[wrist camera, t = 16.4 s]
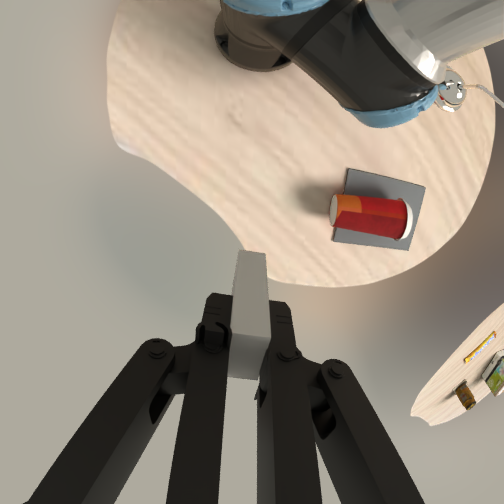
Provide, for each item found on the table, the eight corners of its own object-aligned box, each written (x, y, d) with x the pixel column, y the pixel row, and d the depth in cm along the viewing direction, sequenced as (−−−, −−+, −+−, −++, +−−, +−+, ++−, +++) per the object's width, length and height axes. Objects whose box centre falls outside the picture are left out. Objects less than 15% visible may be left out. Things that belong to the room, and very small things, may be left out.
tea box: (495, 352, 77) (512, 374, 63) (507, 347, 77) (523, 367, 64) (480, 376, 83) (495, 397, 70) (492, 370, 84) (506, 391, 70)
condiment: (455, 394, 86) (466, 413, 75) (452, 389, 83) (463, 409, 72) (467, 384, 84) (479, 402, 73) (465, 378, 81) (477, 397, 70)
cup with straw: (412, 62, 37) (483, 48, 19) (438, 98, 40) (510, 101, 22) (388, 84, 39) (459, 73, 21) (416, 121, 42) (490, 130, 24)
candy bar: (494, 328, 70) (496, 331, 68) (494, 333, 71) (497, 336, 70) (463, 358, 74) (465, 361, 73) (464, 362, 76) (466, 365, 74)
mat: (333, 240, 52) (333, 241, 52) (348, 168, 46) (349, 168, 46) (407, 249, 53) (408, 250, 53) (424, 187, 48) (425, 187, 47)
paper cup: (326, 231, 50) (393, 239, 50) (336, 233, 43) (411, 243, 42) (330, 189, 50) (397, 200, 49) (340, 184, 42) (415, 197, 41)
